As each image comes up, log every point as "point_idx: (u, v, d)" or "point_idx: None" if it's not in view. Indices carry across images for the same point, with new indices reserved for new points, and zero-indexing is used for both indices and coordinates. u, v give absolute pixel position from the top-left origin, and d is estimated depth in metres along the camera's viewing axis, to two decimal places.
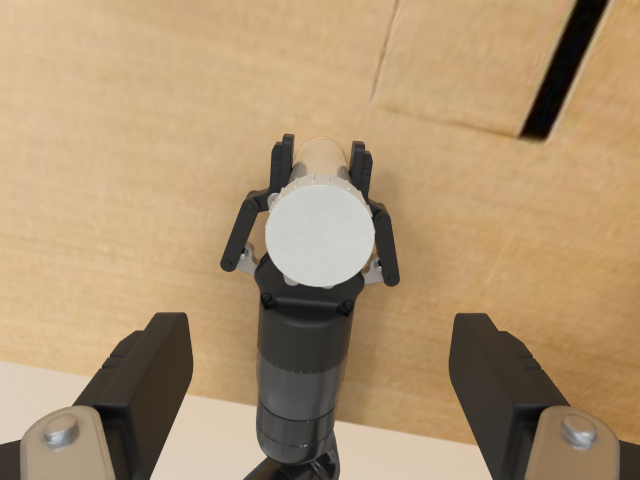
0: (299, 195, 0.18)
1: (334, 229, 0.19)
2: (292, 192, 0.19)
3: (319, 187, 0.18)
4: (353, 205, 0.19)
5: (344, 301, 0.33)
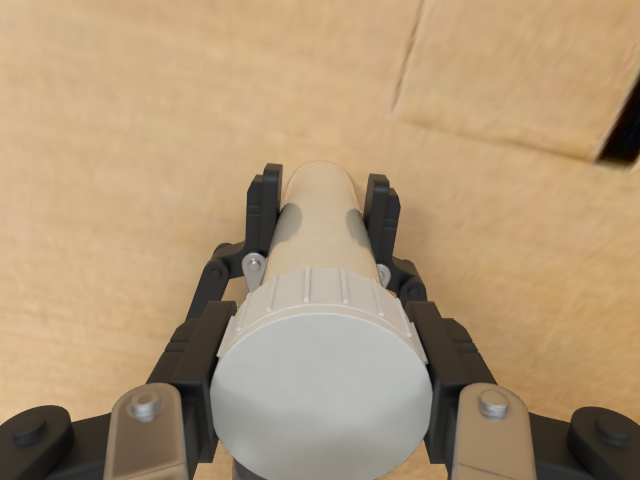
0: (277, 333, 0.09)
1: (351, 394, 0.09)
2: (262, 327, 0.09)
3: (320, 317, 0.09)
4: (392, 352, 0.09)
5: None
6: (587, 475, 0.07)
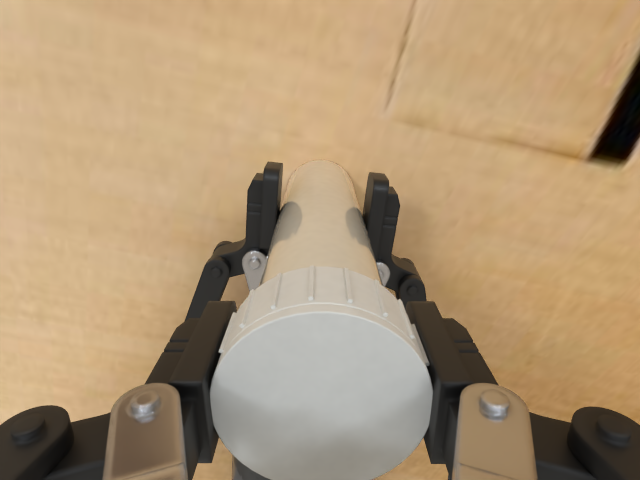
0: (236, 443, 0.10)
1: (299, 386, 0.09)
2: (232, 451, 0.10)
3: (217, 411, 0.10)
4: (243, 357, 0.09)
5: None
6: (588, 475, 0.07)
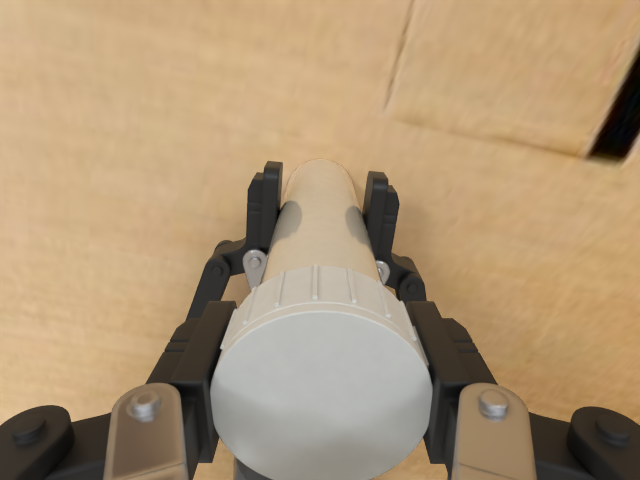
0: (366, 472, 0.10)
1: (294, 426, 0.10)
2: (379, 472, 0.10)
3: None
4: (265, 465, 0.10)
5: None
6: (587, 475, 0.07)
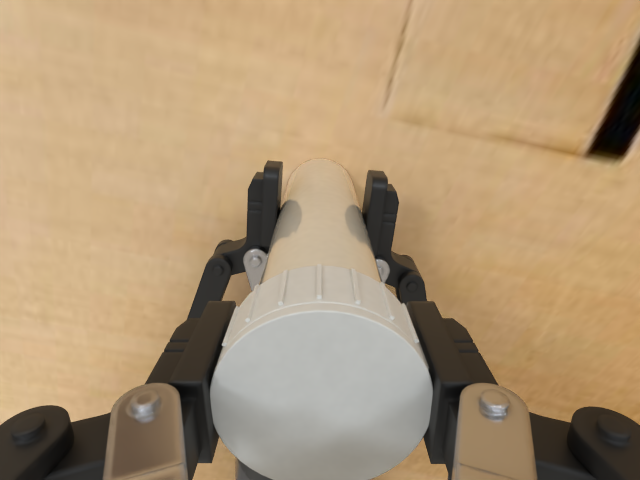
0: (409, 365, 0.09)
1: (345, 428, 0.10)
2: (413, 350, 0.09)
3: (426, 393, 0.09)
4: (396, 450, 0.10)
5: None
6: (588, 475, 0.07)
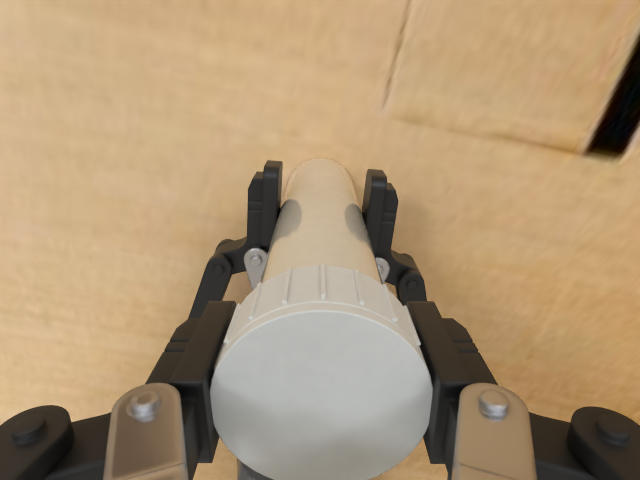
0: (260, 339, 0.09)
1: (347, 387, 0.09)
2: (244, 335, 0.09)
3: (298, 316, 0.09)
4: (377, 339, 0.09)
5: None
6: (587, 475, 0.07)
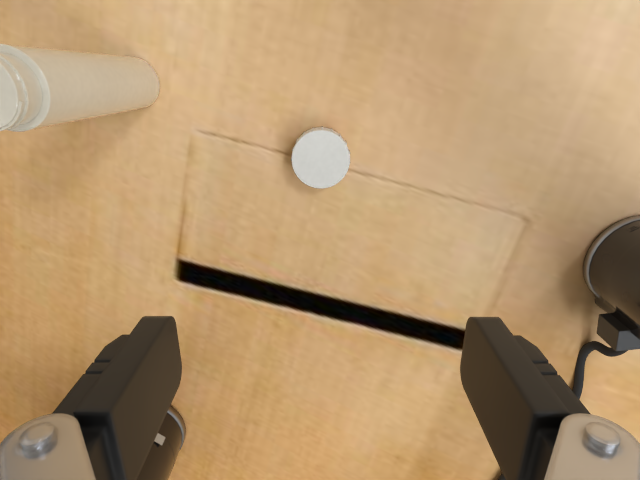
0: (300, 175, 0.37)
1: (313, 153, 0.36)
2: (300, 179, 0.37)
3: (294, 166, 0.36)
4: (298, 147, 0.36)
5: None
6: None
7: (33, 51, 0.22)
